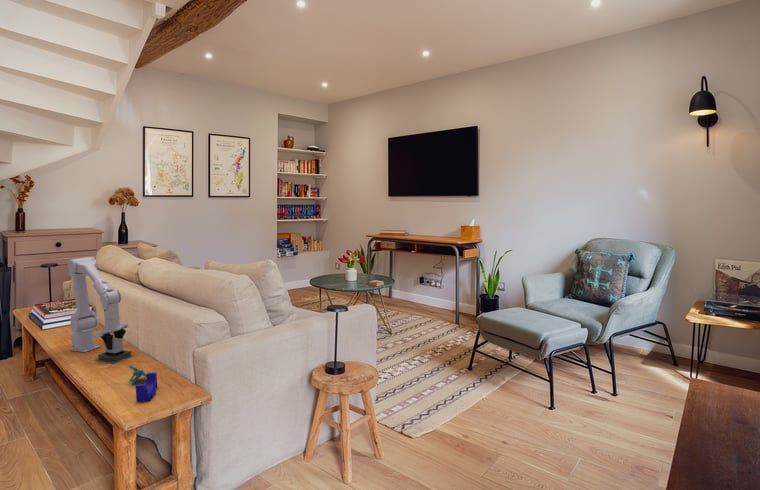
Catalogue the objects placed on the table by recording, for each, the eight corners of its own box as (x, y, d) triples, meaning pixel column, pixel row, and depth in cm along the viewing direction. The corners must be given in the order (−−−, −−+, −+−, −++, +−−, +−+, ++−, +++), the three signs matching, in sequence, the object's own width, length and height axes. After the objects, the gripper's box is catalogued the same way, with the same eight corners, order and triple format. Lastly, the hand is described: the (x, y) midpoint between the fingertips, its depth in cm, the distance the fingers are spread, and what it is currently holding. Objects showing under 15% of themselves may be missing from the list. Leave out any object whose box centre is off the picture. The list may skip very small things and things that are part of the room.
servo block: (105, 351, 198) (104, 338, 197) (112, 348, 202) (112, 336, 201) (115, 353, 196) (114, 340, 195) (123, 350, 200) (122, 337, 199)
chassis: (95, 360, 196) (95, 355, 196) (115, 353, 206) (114, 347, 205) (114, 363, 193) (114, 358, 192) (133, 355, 202) (133, 350, 202)
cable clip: (150, 401, 158) (149, 385, 158) (136, 402, 158) (135, 386, 157) (161, 387, 170) (160, 372, 169) (149, 387, 169) (148, 372, 169)
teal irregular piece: (157, 378, 173) (135, 365, 168) (146, 392, 171) (124, 379, 166) (148, 374, 181) (127, 361, 176) (138, 387, 179) (116, 375, 174)
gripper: (104, 323, 189) (106, 354, 190) (132, 314, 203) (134, 343, 204) (91, 321, 191) (94, 352, 193) (120, 313, 205) (122, 341, 206)
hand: (114, 347), depth 198 cm, fingers closed on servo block, 4 cm apart
